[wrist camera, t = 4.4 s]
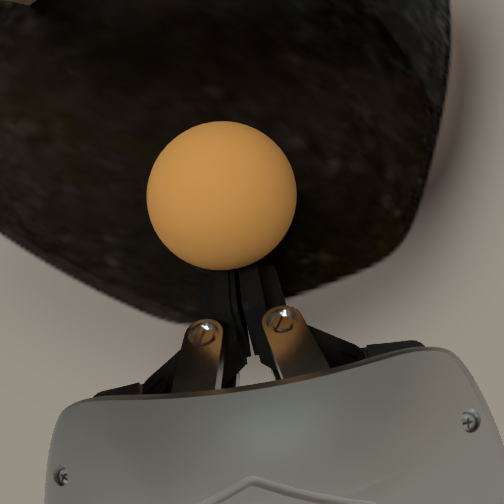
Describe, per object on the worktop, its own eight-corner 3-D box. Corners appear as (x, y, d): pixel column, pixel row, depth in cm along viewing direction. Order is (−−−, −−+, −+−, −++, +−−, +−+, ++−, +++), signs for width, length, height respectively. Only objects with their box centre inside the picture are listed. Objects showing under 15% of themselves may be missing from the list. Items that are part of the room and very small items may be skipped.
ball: (183, 244, 13) (163, 314, 8) (150, 139, 10) (101, 156, 6) (289, 220, 12) (323, 280, 8) (268, 110, 10) (300, 103, 6)
